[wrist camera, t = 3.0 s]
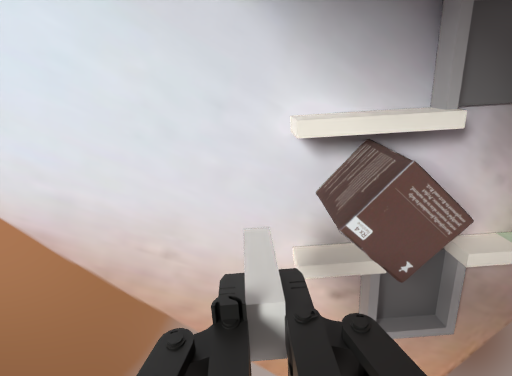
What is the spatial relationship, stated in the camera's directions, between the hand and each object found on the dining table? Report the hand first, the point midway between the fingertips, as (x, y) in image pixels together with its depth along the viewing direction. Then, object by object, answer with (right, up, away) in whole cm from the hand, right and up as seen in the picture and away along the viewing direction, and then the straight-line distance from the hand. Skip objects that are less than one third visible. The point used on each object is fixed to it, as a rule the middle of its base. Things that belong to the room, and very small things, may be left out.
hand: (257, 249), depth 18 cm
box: (+9, +4, +8) cm, 12 cm away
